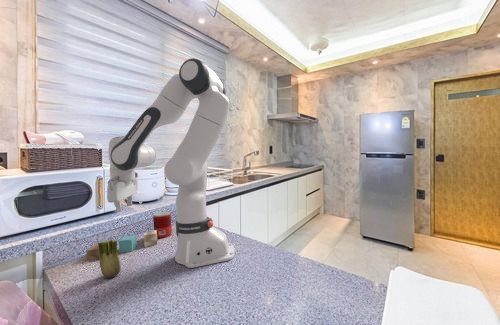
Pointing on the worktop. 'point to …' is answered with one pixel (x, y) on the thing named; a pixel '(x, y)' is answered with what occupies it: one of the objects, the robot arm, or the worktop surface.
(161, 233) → the canned food
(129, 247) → the teal cube
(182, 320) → the worktop surface
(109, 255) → the fennel bulb
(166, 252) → the worktop surface
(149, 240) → the birch cube
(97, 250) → the walnut slab
